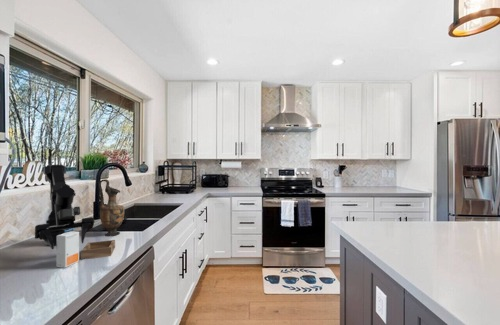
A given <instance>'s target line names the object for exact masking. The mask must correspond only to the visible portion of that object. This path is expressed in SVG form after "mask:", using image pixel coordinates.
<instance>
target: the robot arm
mask: <svg viewBox="0 0 500 325" xmlns="http://www.w3.org/2000/svg"><path fill="white" fill-rule="evenodd" d="M65 174H67V166H66V165H64V164H51V165H49V164H48V165H46V166H44V167H43V175H45V179H46V180H47V181H48V183H49V187H50V192H49V198H50V208H51V211H50V213H49V214H48V216H47V220H46V221H45V223H41V224H40V223H39V224H36V225H35V226H34V239H36V240H37V239H39V240H41V241H42V240H43V241H44V242H45V243H46V247H50V248H51V250H54V249H55V247H54V246H57V235H61V234H63V233H66V231H69V230H71V229H79V228H80V229H81V231H80V237H81V239H80V241H81V244H84V242H85V237H86V234H87V232H90V230H92V229H93V228H94V224H95V218H94V217H92V216H90V217H84V218H81V221H80V222H79V221H77V222H75V221H76V216H80V215H81V207H80V206H74V207H73V206H72V204H73V202H74V197H75V196H76V192H75V190H74V189H73V188H72V187H71V186H70V185H69V184H67V182H66V179H65Z"/></svg>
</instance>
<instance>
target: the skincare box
mask: <svg viewBox="0 0 500 325" xmlns="http://www.w3.org/2000/svg"><path fill="white" fill-rule="evenodd" d="M55 256H56V258H55V259H56V261H55V262H56V265H55V266H56V267H57V268H65V269H66V268H68V267H70V266H72V265H74V264H76V263H79V262H80V232H79V231H74V230H71V231H67V232H65V233H63V234H61V235H57V245H56V255H55Z"/></svg>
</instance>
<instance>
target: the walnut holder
mask: <svg viewBox="0 0 500 325" xmlns="http://www.w3.org/2000/svg"><path fill="white" fill-rule="evenodd" d="M115 248H116V239H110V240H101V241H92V242H91V241H90V242H87V244H86V245H85V246H84V247H83V248H82V249H81V251H80V258H81V261H83V260H88V259H96V258H97V259H98V258H104V257H112V255H113V253H114V250H115Z"/></svg>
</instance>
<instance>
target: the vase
mask: <svg viewBox="0 0 500 325" xmlns="http://www.w3.org/2000/svg"><path fill="white" fill-rule="evenodd" d="M103 182H105V183H106V184H105V187H104V188H105V189H104V191H105V193H106V194H107V196H108V200H107V201H108V202H107V204H106V205H105V202H104V201H105V200H104V193H103V188H102V183H103ZM97 185H98V192H99V198H100V204H99V220H100V222H101V225H102V226H103V227H104V228H105V229H107V233H105V234H104V236H105V237H114V236H118V235H120V234H121V233H120V231H118V228H119V227H120V226H121V225H122V223H123V222H124V218H125V207H124V205H120V204H118V203H117V195H118V194H121V190H120V189H117V188H115V187H112V186H110V181H109V180H108V179H101V180H99V182H98V183H97Z"/></svg>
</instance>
